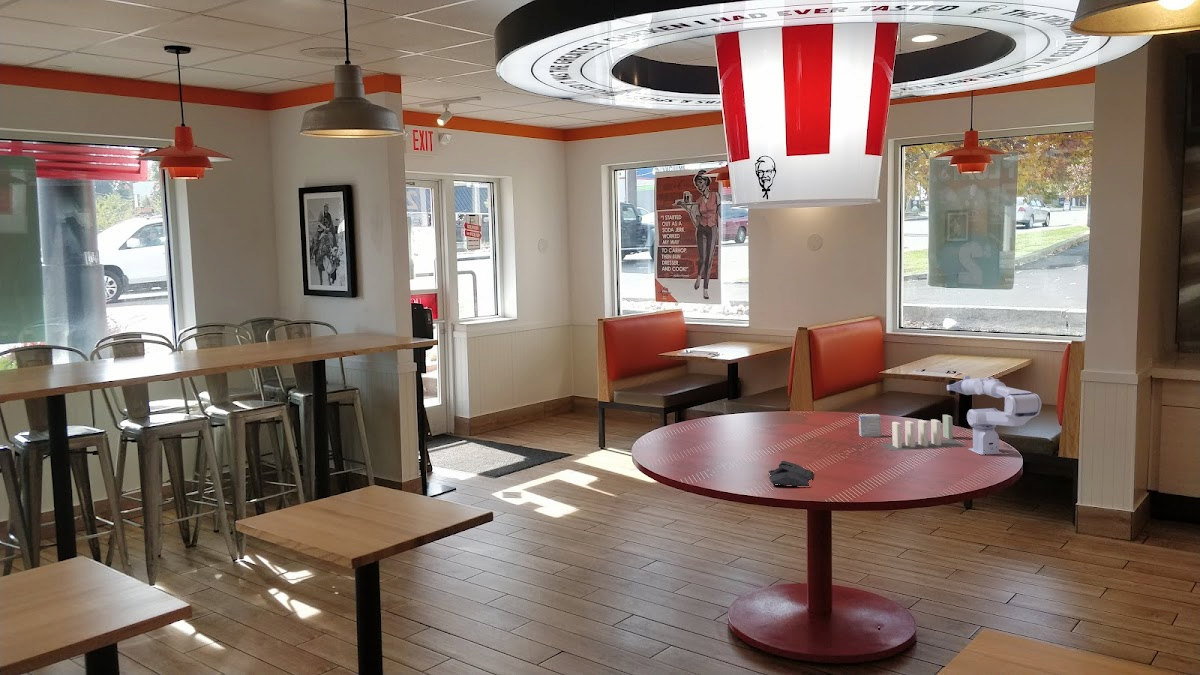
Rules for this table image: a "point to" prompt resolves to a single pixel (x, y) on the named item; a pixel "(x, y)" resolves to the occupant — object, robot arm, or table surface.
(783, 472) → the dark slate chunk
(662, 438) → the table surface
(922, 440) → the domino
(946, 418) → the domino
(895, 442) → the domino
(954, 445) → the charcoal mat
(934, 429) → the domino
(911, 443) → the domino
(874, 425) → the medicine box
